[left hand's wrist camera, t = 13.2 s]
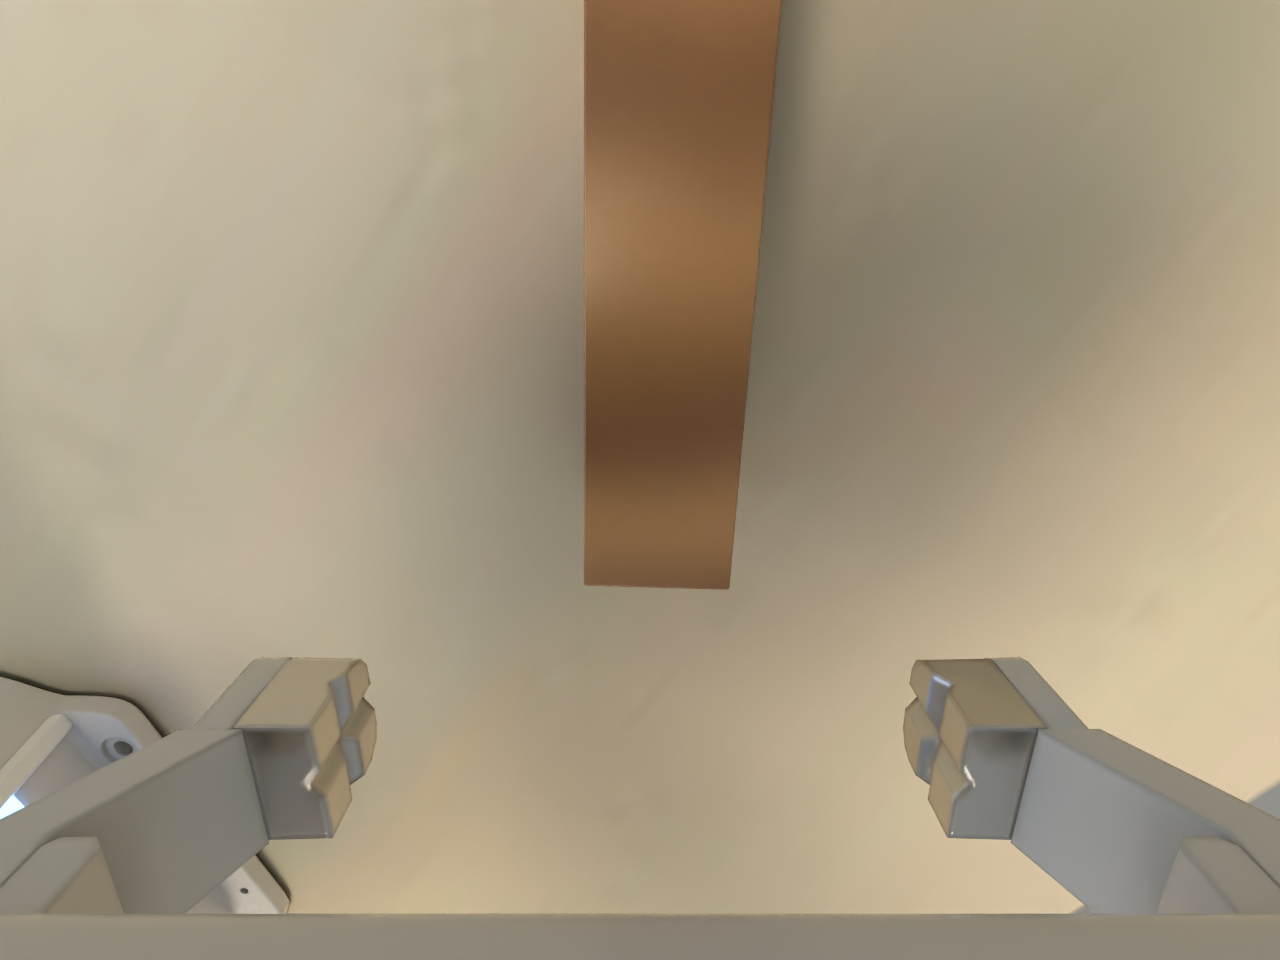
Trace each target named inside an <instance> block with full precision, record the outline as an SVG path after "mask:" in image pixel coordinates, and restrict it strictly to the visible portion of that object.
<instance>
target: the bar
mask: <svg viewBox="0 0 1280 960" xmlns="http://www.w3.org/2000/svg"><path fill="white" fill-rule="evenodd" d="M781 8H782V0H584V584H585V585H586V586H621V587H656V588H692V589H729V586H730V574H731V563H732V552H733V541H734V530H735V519H736V508H737V497H738V486H739V474H740V463H741V452H742V441H743V430H744V419H745V408H746V397H747V386H748V374H749V363H750V352H751V341H752V330H753V319H754V308H755V297H756V286H757V275H758V263H759V252H760V241H761V230H762V219H763V208H764V197H765V186H766V175H767V163H768V152H769V141H770V130H771V119H772V108H773V97H774V86H775V75H776V63H777V52H778V41H779V30H780V19H781Z"/></svg>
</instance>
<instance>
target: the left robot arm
mask: <svg viewBox="0 0 1280 960" xmlns="http://www.w3.org/2000/svg"><path fill="white" fill-rule="evenodd" d="M370 684H371V683H370V678H369V673H368V668H367V664H366V663H364V662H363V661H362V660H361V659H338V658H291V657H274V658H259V659H256V660H253V661H252V662H251V663H250V664H249V665H248V666H247V668H246V669H245V670H244V671H243V672H242V673H241V674H240V675H239V676H238V678H237V679H236V680H235V681H234V682H233V683H232V684H231V685H230V686H229V688H228V689H227V690H226V691H225V692H224V693H223V694H222V695H221V696H220V698H219V699H218V700H217V701H216V702H215V703H214V704H213V705H212V706H211V708H210V709H209V710H208V711H207V712H206V713H205V714H204V715H203V716H202V718H201V719H200V720H199V721H198V722H197V723H196V724H195V725H194V726H193V728H192V729H179V730H177V731H175V732H173V733H171V734H169V735H167V736H165V737H163V738H162V737H161V735H160V734H159V733H158V732H157V730H156V729H155V728H154V727H153V725H152V724H151V723H150V722H149V720H148V719H147V718H146V716H145V715H144V714H143V713H142V712H141V711H140V710H139V709H138V708H137V707H136V706H134V705H133V704H131V703H129V702H127V701H125V700H122V699H117V698H112V697H104V696H83V695H62V694H57V693H53V692H50V691H46V690H43V689H40V688H37V687H34V686H31V685H28V684H24V683H21V682H18V681H15V680H11V679H8V678H4V677H0V960H1280V819H1278V818H1276V817H1274V816H1272V815H1270V814H1268V813H1266V812H1264V811H1262V810H1260V809H1258V808H1256V807H1254V806H1252V805H1250V804H1248V803H1246V802H1244V801H1242V800H1240V799H1238V798H1236V797H1234V796H1232V795H1230V794H1228V793H1226V792H1224V791H1222V790H1220V789H1218V788H1216V787H1214V786H1212V785H1210V784H1208V783H1206V782H1204V781H1202V780H1200V779H1198V778H1196V777H1194V776H1192V775H1190V774H1188V773H1186V772H1184V771H1182V770H1180V769H1178V768H1176V767H1174V766H1172V765H1170V764H1168V763H1166V762H1164V761H1162V760H1160V759H1158V758H1157V757H1155V756H1153V755H1151V754H1149V753H1147V752H1145V751H1143V750H1141V749H1139V748H1137V747H1135V746H1133V745H1131V744H1129V743H1127V742H1125V741H1123V740H1121V739H1119V738H1117V737H1115V736H1113V735H1111V734H1109V733H1107V732H1105V731H1103V730H1101V729H1088V728H1087V726H1086V725H1085V724H1084V723H1083V722H1082V721H1081V720H1080V719H1079V718H1078V716H1077V715H1076V714H1075V713H1074V712H1073V711H1072V710H1071V709H1070V708H1069V706H1068V705H1067V704H1066V703H1065V702H1064V701H1063V700H1062V699H1061V698H1060V696H1059V695H1058V694H1057V693H1056V692H1055V691H1054V690H1053V689H1052V688H1051V686H1050V685H1049V684H1048V683H1047V682H1046V681H1045V680H1044V679H1043V678H1042V676H1041V675H1040V674H1039V673H1038V672H1037V671H1036V670H1035V669H1034V668H1033V666H1032V665H1031V664H1030V663H1029V662H1028V661H1026V660H1024V659H1022V658H1020V657H1004V658H985V659H942V660H916V662H915V664H914V666H913V668H912V672H911V678H910V683H909V684H910V685H911V687H912V689H913V691H914V692H915V694H916V696H917V697H916V698H915V700H914V701H913V702H912V703H911V704H910V705H909V706H908V707H907V708H906V709H905V716H904V725H903V732H904V743H905V749H906V753H907V756H908V759H909V762H910V764H911V766H912V768H913V771H914V773H915V775H916V776H918V777H919V778H921V779H922V780H923V781H925V782H926V783H928V784H929V785H930V789H929V795H928V801H929V803H930V805H931V807H932V808H933V810H934V812H935V814H936V816H937V818H938V820H939V822H940V824H941V826H942V828H943V830H944V832H945V834H946V836H947V838H969V839H1004V840H1011V843H1012V844H1013V845H1014V846H1015V847H1017V848H1018V849H1019V850H1020V851H1021V852H1022V853H1024V854H1025V855H1026V856H1027V857H1028V858H1030V859H1031V860H1032V861H1033V862H1034V863H1036V864H1037V865H1038V866H1039V867H1040V868H1041V869H1043V870H1044V871H1045V872H1046V873H1047V874H1049V875H1050V876H1051V877H1052V878H1053V879H1055V880H1056V881H1057V882H1058V883H1059V884H1060V885H1062V886H1063V887H1064V888H1065V889H1066V890H1068V891H1069V892H1070V893H1071V894H1072V895H1073V896H1075V897H1076V898H1077V899H1078V900H1079V901H1081V902H1082V903H1083V904H1084V905H1085V906H1087V907H1088V908H1089V909H1090V910H1091V911H1092V912H1094V913H1095V914H286V912H287V909H288V907H289V899H288V897H287V896H286V894H285V892H284V891H283V890H282V888H281V887H280V886H279V885H278V883H277V882H276V881H275V879H274V878H273V877H272V876H271V874H270V873H269V872H268V871H267V869H266V868H265V867H264V865H263V864H262V863H261V862H260V860H259V859H258V858H257V857H256V855H255V854H257V853H258V852H259V851H260V850H261V849H263V848H264V847H265V846H266V845H267V844H269V840H276V839H310V838H333V836H334V834H335V832H336V830H337V828H338V826H339V824H340V822H341V820H342V818H343V816H344V814H345V812H346V810H347V808H348V807H349V805H350V803H351V801H352V795H351V789H350V785H351V784H352V783H354V782H355V781H357V780H358V779H359V778H361V777H362V776H364V775H365V773H366V770H367V768H368V766H369V764H370V762H371V760H372V756H373V752H374V747H375V743H376V729H377V722H376V715H375V709H374V708H373V707H372V706H371V705H370V704H369V703H368V702H367V701H366V700H365V699H364V697H363V696H364V694H365V692H366V691H367V689H368V687H369V685H370Z"/></svg>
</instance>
